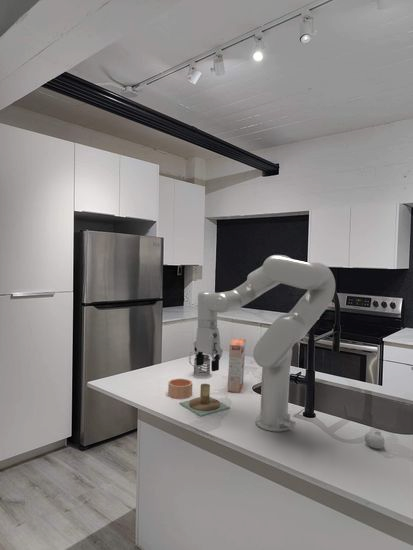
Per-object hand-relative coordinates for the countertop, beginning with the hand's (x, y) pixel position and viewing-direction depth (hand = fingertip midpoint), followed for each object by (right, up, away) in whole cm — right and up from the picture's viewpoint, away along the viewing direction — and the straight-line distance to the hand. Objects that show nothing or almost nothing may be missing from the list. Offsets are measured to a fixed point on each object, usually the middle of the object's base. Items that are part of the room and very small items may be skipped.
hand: (207, 367), depth 148 cm
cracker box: (+13, -15, +24) cm, 31 cm away
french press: (-3, -14, +39) cm, 42 cm away
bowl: (-11, -14, +13) cm, 23 cm away
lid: (-1, -15, +1) cm, 15 cm away
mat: (-1, -15, +1) cm, 15 cm away
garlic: (+53, -19, -27) cm, 62 cm away
